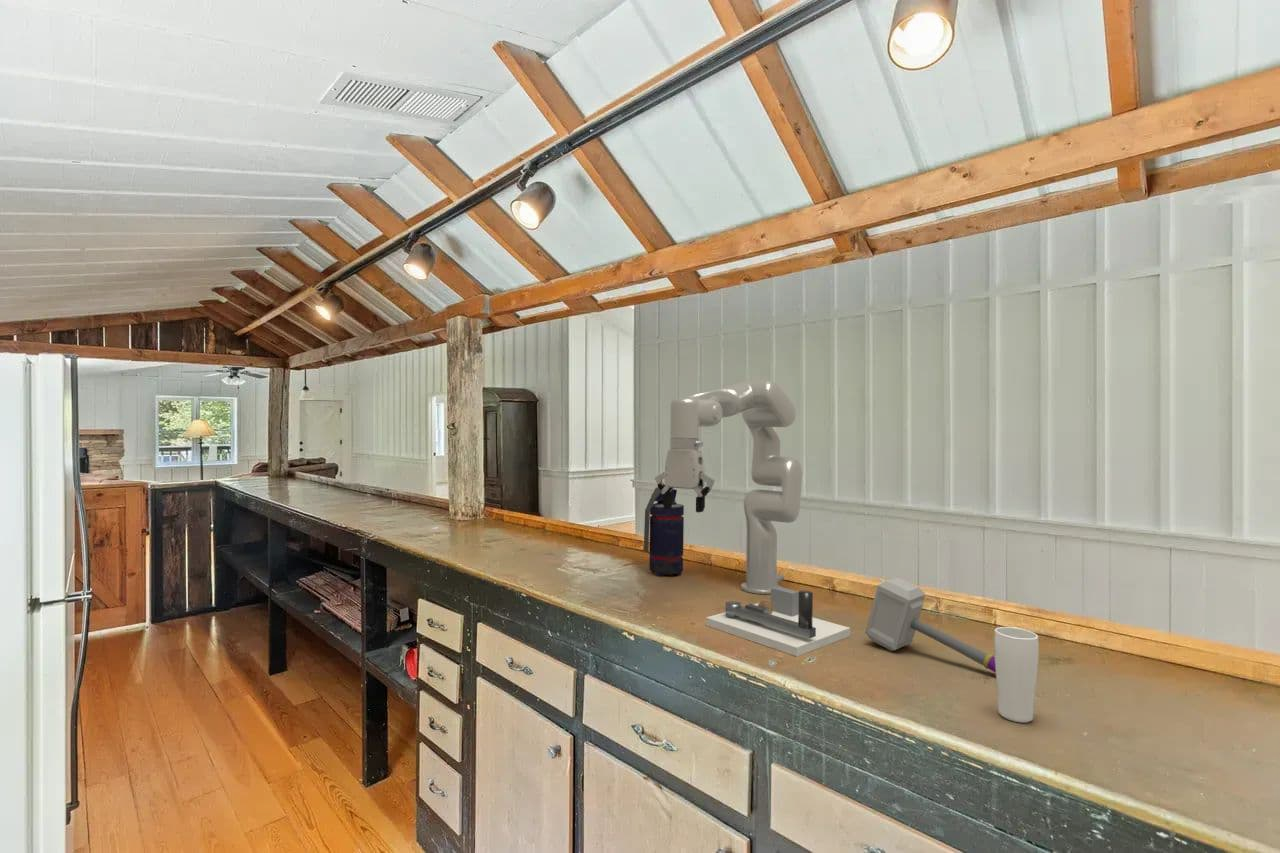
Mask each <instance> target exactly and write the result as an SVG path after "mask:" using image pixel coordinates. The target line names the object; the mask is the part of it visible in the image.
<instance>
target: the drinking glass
mask: <svg viewBox="0 0 1280 853" xmlns="http://www.w3.org/2000/svg"><path fill="white" fill-rule="evenodd" d="M993 638H994V639H993V640H994V641H993V643H994V644H993V653H994V654H993V656H994V657H995V668H996V672H995V678H996V690H997V709H998V714H1000V716H1001V717H1003V718H1004V719H1006V720H1009V721H1011V722H1015V723H1030V722H1031V721H1032V720H1033V719H1034V705H1035V696H1036V694H1035V693H1036V686H1037V677H1038V669H1039V652H1040V651H1039V650H1040V649H1039V648H1040V647H1039V646H1040V645H1039V644H1040V643H1039V636H1038V634H1037V633H1035V632H1033V631H1030V630H1028V629H1024V628H1020V627H1013V626H1000V627H999V626H998V627H996V628H995V629H994V637H993Z"/></svg>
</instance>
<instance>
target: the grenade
mask: <svg viewBox="0 0 1280 853" xmlns="http://www.w3.org/2000/svg"><path fill="white" fill-rule="evenodd" d="M677 492H678V490H677V489H676V488H673V489H672V490H671V492H670V493H671V494H672V508H671V509H664V505H663V494H662V493H661V490H660V489H659V488H658V486H656V487H655V488H654V490H653V492H652V493H651V494H650V495H651V496H650V498H649V500H648V503H647V505H646V508H645V509H644V528H643V550H644V551H645V552H646V553H649V567H648V568H649V571H650V572H651V573H655V574H656V576H657V577H662V578H663V577H664V576H665V575H677V576H681V575H682V572H683V571H684V557H683V556H684V537H685V536H684V533H685V530H684V525H685V524H684V523H685V521H684V520H685V519H684V514H685V512H684V510H685V509H684V507H685V506H684V505H683V504H680V503H677V502H676V496H677Z"/></svg>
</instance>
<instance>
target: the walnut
mask: <svg viewBox="0 0 1280 853" xmlns="http://www.w3.org/2000/svg"><path fill="white" fill-rule="evenodd" d="M758 603H759V604H758V606H760V607H763V608H767V609H769V614H772V612H773V606H772V604H771V601H768V600H762V601H760V602H758Z"/></svg>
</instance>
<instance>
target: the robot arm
mask: <svg viewBox="0 0 1280 853" xmlns="http://www.w3.org/2000/svg"><path fill="white" fill-rule="evenodd" d="M796 413H797V412H796V408H795V405H794V404H793V401H792V400H791V399H790V397H788V395H787V393H786V392H785V390H783V389H782V387H780V385H779V384H778V383H776V382H775V381H774V380H772V379H771V380H770V379H762V380H761V379H756V380H744V381H739V382H737V383H734V384H731V385H728V386H726V387H723V388H718V389H714V390H710V391H705V392H700V393H696V394H691V395H688V396H685V397H681V398H679V397H678V398H673V399H672V400H671V403H670V414H669V415H670V418H669V419H670V420H669V423H670V428H669V430H670V431H669V432H670V434H669V436H670V438H669V439H670V440H669V449H668V450H667V454H666V458H665V464H664V465H665V466H664V471H663V472H662V473H660V474H659V475H655V477H654V480H655V483H656V485H657V487H658V488H659V489H660V490H661V493H662V494H663V505H664V509H671V508H672V494H671V493H670V492H671V490H672V489H682V490H683V489H684V490H686V489H687V490H694V492H695V493H696V495H697V496H696V497H695V512H696V513H703V512H704V510H705V508H706V496H707V495H708V494H709V493H710V492H711V491H712V488H713V486H714V485H715V484H714V483H715V479H713V478H711V477H710V476H708V475H707V474H706V473H705V472H706V471H705V464H704V461H705V460H704V456H703V452H702V450H699V449H700V447H703V446H704V441H702V440H701V441H700V438H699V435H700V434H699V432H700V427H705V428H707V427H713V426H716V425H718V424H719V423H720V422H721V421H722V419H723V418H729V417H733V416H735V415H739V414H741V416H742V419H743V421H744V424H745V425H746V426H747V428H748V430H749V432H750V434H751V436H752V439H753V446H752V447H753V449H752V459H751V460H752V461H751V480H752V481H753V483H755V484H756V485H759V486H764V487H765V486H766V487H767V486H768V487H777V488H779V487H781V490H780V491H779V490H771V489H752V490H750V491H748V492H747V493H746V494H745V496H744V499H743V511H744V515H745V516H744V517H745V523H746V524H745V525H746V527H745V528H746V545H745V546H746V549H745V550H746V552H745V556H746V557H745V559H746V561H745V562H746V564H745V566H746V567H745V568H746V569H745V582H742V583H740V588H741V590H742V591H744V592H748V593H751V594H757V595H771V588H774V587H782V586H781V585H780V584H779V582H780V581H783V580H785V579H786V578H785V575H784V574H783V573H780V574H779V573H777V567H778V566H777V565H778V564H777V563H778V562H777V561H778V555H777V553H778V534H777V531H776V528H775V526H774V524H773V523H772V522H779V523H787V524H788V523H789V524H790V523H793V522H795V521H797V519H798V517H799V513H800V509H801V508H800V507H801V495H802V483H803V471H802V470H803V469H802V466H801V463H800V462H799V460H798V459H797V458H794V457H792V456H781V439H780V436H779V435H778V433H777V431H776V430H775V429H774V428H787V427H790V426H791V425H792V424H793V423H794V422H795V420H796V416H797V415H796ZM663 480H664V482H663ZM705 483H706V484H705Z"/></svg>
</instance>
